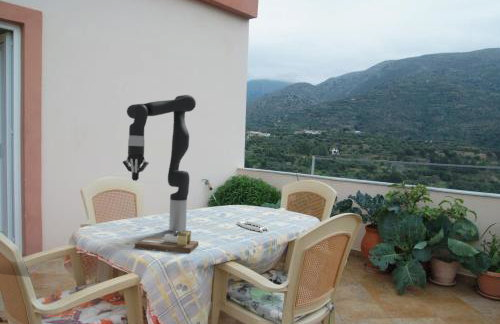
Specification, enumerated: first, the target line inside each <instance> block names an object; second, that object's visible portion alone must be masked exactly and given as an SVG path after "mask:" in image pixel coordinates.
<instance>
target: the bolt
mask: <svg viewBox="0 0 500 324" xmlns="http://www.w3.org/2000/svg"><path fill="white" fill-rule="evenodd" d="M178 233H179V232H178V231H174V232H173V233H172V234H170V233H166V234H164V236H163V237H164V242H170V243H177V239H178Z"/></svg>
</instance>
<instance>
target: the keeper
mask: <svg viewBox="0 0 500 324" xmlns="http://www.w3.org/2000/svg"><path fill="white" fill-rule="evenodd" d="M191 241H192V230H185V231H184V230H183V231H181V232H178V239H177V246H187V243H191Z"/></svg>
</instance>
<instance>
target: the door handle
mask: <svg viewBox="0 0 500 324" xmlns="http://www.w3.org/2000/svg"><path fill="white" fill-rule="evenodd" d="M236 224H237V226H239V225H240V226H239V227H241V226H242V228H244V229H246V228H247V229H246V230H250V229H251V230H250V231H253V230H255V231H254V232H257V231H260V232H259V233H263V232H264V231H265V230H267V231H266V232H269V231H270V229H269V228H268V226H265V225H263V224H261V223H257V222H254V221H253V222H252V221H249V220H247V219H246V220H243V219H242V220H236ZM248 224H251V225H248ZM252 225H255V226H252ZM256 226H259V227H261V228H259V227H256ZM263 230H264V231H263Z"/></svg>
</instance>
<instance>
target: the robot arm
mask: <svg viewBox="0 0 500 324" xmlns="http://www.w3.org/2000/svg"><path fill="white" fill-rule="evenodd" d="M196 105H197V102H196V99H195V98H194V96H192V95H189V94H183V95H178V96H176V97H175V98H174V99H169V100H168V99H167V100H156V101H151V102H150V101H149V102H146V103H137V104H131V105H129V106H128V107H127V108H126V114H127V116H128V117H129V118H131V119H133V123H131V124H130V125H129V131H128V139H127V140H128V143H127V146H128V147H127V157H126V159H125V160H123V161H122V164H123V165H124V166H125V168H126V169H127V171H128V172H130V173H131V180H132V181H136V182H137V181H138V180H139V178H140V177H139V175H140V174H139V173H141V172H143V171H144V170H145V169H146V168H147V166H148V165H149V164H150V163H149V161H146V160H145V127H146V123H147V120H148V117H154V116H155V117H156V116H160V115H165V114H169V113H173V126H172V128H173V129H172V139H171V153H170V154H171V155H170V161H169V168H168V174H167V183H168V185H169V186H170V187H173V188H177V191H176V192H174V193H171V194H170V197H169V219H168V220H169V221H168V222H169V223H168V230H169V232H173V233H174V231H178V233H180V232H181V231H183V230H184V231H187V213H188V211H187V209H188V208H187V207H188V195H189V189H190V174H189V172H188V171H185V170H180V169H179V167H180V163H181V160H182V159H183V157H184V156H185V154H186V153H187V151H188V149H189V147H190V133H189V130H188V128H187V125H186V121H185V118H186V113H188V112H192V111H194V110H195V108H196Z"/></svg>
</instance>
